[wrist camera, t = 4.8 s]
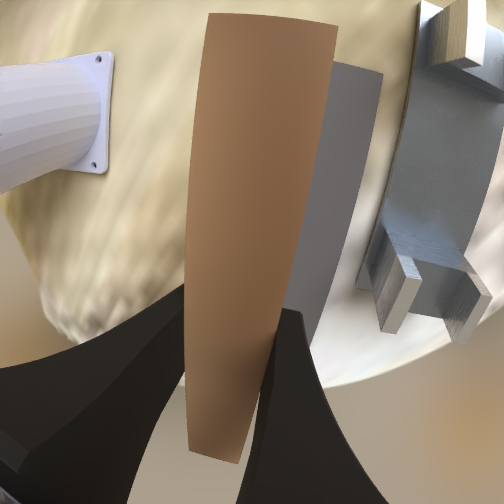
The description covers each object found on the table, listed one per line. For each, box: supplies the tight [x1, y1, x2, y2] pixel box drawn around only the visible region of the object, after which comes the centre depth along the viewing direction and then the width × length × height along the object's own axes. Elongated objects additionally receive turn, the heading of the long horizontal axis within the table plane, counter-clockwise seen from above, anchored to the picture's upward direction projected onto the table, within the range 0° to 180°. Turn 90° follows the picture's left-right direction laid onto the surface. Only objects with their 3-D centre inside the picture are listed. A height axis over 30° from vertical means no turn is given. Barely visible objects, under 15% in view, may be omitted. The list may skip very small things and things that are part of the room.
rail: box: [184, 13, 338, 464], centre depth 9 cm, size 2×16×2 cm, turn 172°
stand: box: [356, 0, 504, 345], centre depth 11 cm, size 6×17×6 cm, turn 172°
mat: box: [282, 61, 383, 347], centre depth 17 cm, size 8×18×1 cm, turn 172°
